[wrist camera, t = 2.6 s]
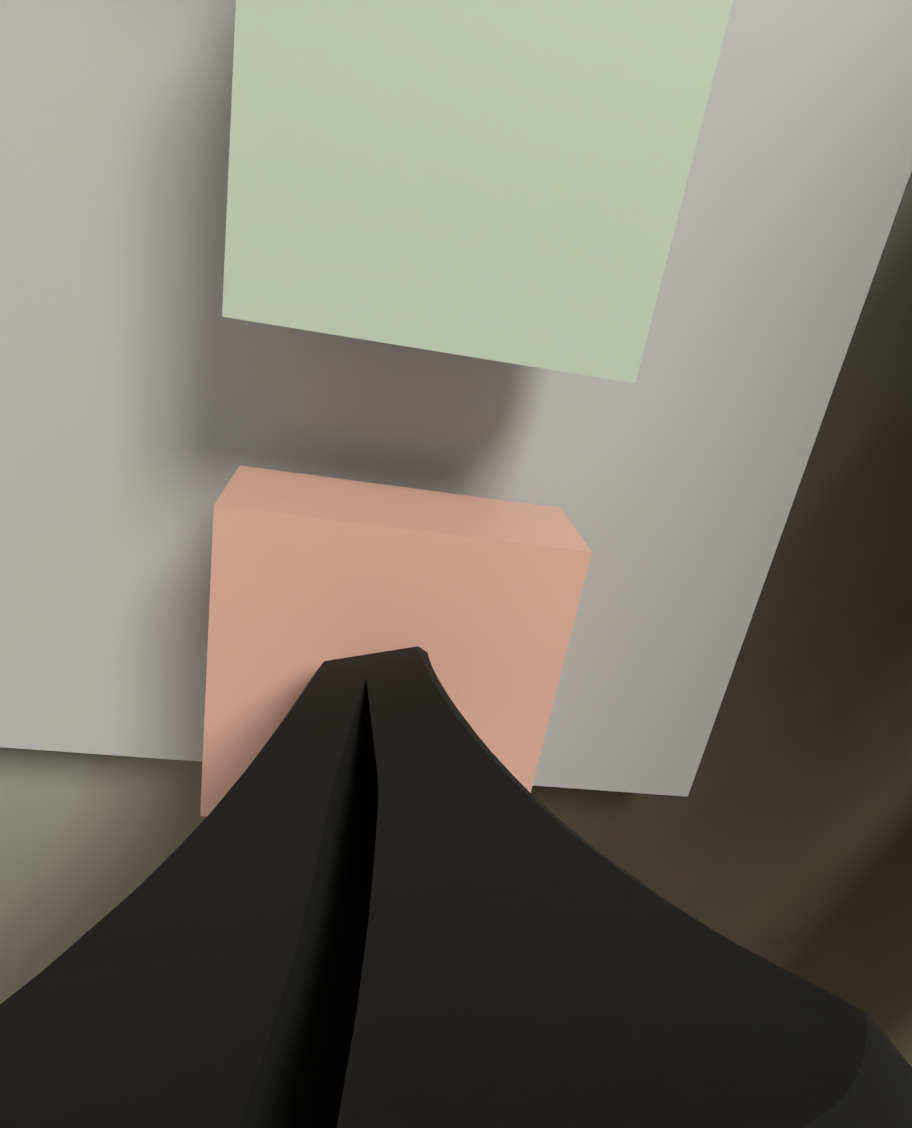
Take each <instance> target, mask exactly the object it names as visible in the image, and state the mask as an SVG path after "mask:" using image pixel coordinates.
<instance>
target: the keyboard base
mask: <svg viewBox="0 0 912 1128" xmlns="http://www.w3.org/2000/svg"><path fill="white" fill-rule="evenodd" d="M235 10H236V0H0V747H5V748H19V749H33V750H46V751H60V752H74V753H88V754H102V755H116V756H130V757H144V758H158V759H172V760H185V761H199V762H203V739H204V717H205V694H206V671H207V648H208V625H209V603H210V580H211V557H212V534H213V511H214V504H215V503H216V501H217V500H218V498H219V497H220V495H221V494H222V492H223V490H224V489H225V487H226V486H227V484H228V483H229V481H230V480H231V478H232V476H233V475H234V473H235V472H236V470H237V469H238V467H239V466H240V465H241V466H249V467H256V468H264V469H271V470H279V471H287V472H294V473H302V474H309V475H317V476H324V477H332V478H340V479H347V480H355V481H362V482H370V483H377V484H385V485H392V486H400V487H408V488H415V489H423V490H430V491H438V492H445V493H453V494H461V495H468V496H476V497H483V498H491V499H498V500H506V501H513V502H521V503H529V504H536V505H544V506H551V507H559V508H562V510H563V511H564V513H565V514H566V516H567V517H568V518H569V520H570V521H571V523H572V524H573V526H574V527H575V528H576V530H577V531H578V533H579V534H580V536H581V537H582V539H583V540H584V541H585V543H586V544H587V546H588V547H589V549H590V550H591V551H592V555H591V559H590V562H589V566H588V570H587V574H586V578H585V582H584V586H583V590H582V594H581V598H580V602H579V606H578V609H577V613H576V617H575V621H574V625H573V629H572V633H571V637H570V641H569V645H568V649H567V652H566V656H565V660H564V664H563V668H562V672H561V676H560V680H559V684H558V688H557V692H556V695H555V699H554V703H553V707H552V711H551V715H550V719H549V723H548V727H547V731H546V735H545V738H544V742H543V746H542V750H541V754H540V758H539V762H538V766H537V770H536V774H535V778H534V782H533V786H547V787H561V788H575V789H589V790H602V791H616V792H630V793H644V794H658V795H672V796H686V797H688V794H689V792H690V789H691V786H692V783H693V780H694V778H695V775H696V772H697V769H698V767H699V764H700V761H701V758H702V755H703V753H704V750H705V747H706V744H707V741H708V739H709V736H710V733H711V730H712V727H713V725H714V722H715V719H716V716H717V713H718V711H719V708H720V705H721V702H722V699H723V697H724V694H725V691H726V688H727V685H728V683H729V680H730V677H731V674H732V671H733V669H734V666H735V663H736V660H737V657H738V655H739V652H740V649H741V646H742V643H743V641H744V638H745V635H746V632H747V629H748V627H749V624H750V621H751V618H752V615H753V613H754V610H755V607H756V604H757V602H758V599H759V596H760V593H761V590H762V588H763V585H764V582H765V579H766V576H767V574H768V571H769V568H770V565H771V562H772V560H773V557H774V554H775V551H776V548H777V546H778V543H779V540H780V537H781V534H782V532H783V529H784V526H785V523H786V520H787V518H788V515H789V512H790V509H791V506H792V504H793V501H794V498H795V495H796V492H797V490H798V487H799V484H800V481H801V478H802V476H803V473H804V470H805V467H806V464H807V462H808V459H809V456H810V453H811V451H812V448H813V445H814V442H815V439H816V437H817V434H818V431H819V428H820V425H821V423H822V420H823V417H824V414H825V411H826V409H827V406H828V403H829V400H830V397H831V395H832V392H833V389H834V386H835V383H836V381H837V378H838V375H839V372H840V369H841V367H842V364H843V361H844V358H845V355H846V353H847V350H848V347H849V344H850V341H851V339H852V336H853V333H854V330H855V327H856V325H857V322H858V319H859V316H860V313H861V311H862V308H863V305H864V302H865V300H866V297H867V294H868V291H869V288H870V286H871V283H872V280H873V277H874V274H875V272H876V269H877V266H878V263H879V260H880V258H881V255H882V252H883V249H884V246H885V244H886V241H887V238H888V235H889V232H890V230H891V227H892V224H893V221H894V218H895V216H896V213H897V210H898V207H899V204H900V202H901V199H902V196H903V193H904V190H905V188H906V185H907V182H908V179H909V176H910V174H911V171H912V0H733V3H732V7H731V11H730V15H729V19H728V23H727V27H726V31H725V35H724V38H723V42H722V46H721V50H720V54H719V58H718V62H717V66H716V70H715V74H714V78H713V81H712V85H711V89H710V93H709V97H708V101H707V105H706V109H705V113H704V117H703V121H702V124H701V128H700V132H699V136H698V140H697V144H696V148H695V152H694V156H693V160H692V164H691V168H690V171H689V175H688V179H687V183H686V187H685V191H684V195H683V199H682V203H681V207H680V211H679V214H678V218H677V222H676V226H675V230H674V234H673V238H672V242H671V246H670V250H669V254H668V257H667V261H666V265H665V269H664V273H663V277H662V281H661V285H660V289H659V293H658V297H657V300H656V304H655V308H654V312H653V316H652V320H651V324H650V328H649V332H648V336H647V340H646V343H645V347H644V351H643V355H642V359H641V363H640V367H639V371H638V375H637V379H636V383H629V382H623V381H617V380H611V379H605V378H598V377H592V376H586V375H580V374H574V373H567V372H561V371H555V370H549V369H543V368H537V367H530V366H524V365H518V364H512V363H506V362H499V361H493V360H487V359H481V358H475V357H468V356H462V355H456V354H450V353H444V352H438V351H431V350H425V349H419V348H413V347H407V346H400V345H394V344H388V343H382V342H376V341H369V340H363V339H357V338H351V337H345V336H339V335H332V334H326V333H320V332H314V331H308V330H301V329H295V328H289V327H283V326H277V325H270V324H264V323H258V322H252V321H246V320H239V319H233V318H227V317H222V306H223V283H224V261H225V238H226V215H227V192H228V169H229V147H230V124H231V101H232V78H233V55H234V33H235Z"/></svg>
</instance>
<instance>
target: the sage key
mask: <svg viewBox="0 0 912 1128" xmlns="http://www.w3.org/2000/svg"><path fill="white" fill-rule="evenodd" d="M732 3H733V0H236V10H235V33H234V55H233V78H232V101H231V124H230V147H229V169H228V192H227V215H226V238H225V261H224V283H223V306H222V317H227V318H233V319H239V320H246V321H252V322H258V323H264V324H270V325H277V326H283V327H289V328H295V329H301V330H308V331H314V332H320V333H326V334H332V335H339V336H345V337H351V338H357V339H363V340H369V341H376V342H382V343H388V344H394V345H400V346H407V347H413V348H419V349H425V350H431V351H438V352H444V353H450V354H456V355H462V356H468V357H475V358H481V359H487V360H493V361H499V362H506V363H512V364H518V365H524V366H530V367H537V368H543V369H549V370H555V371H561V372H567V373H574V374H580V375H586V376H592V377H598V378H605V379H611V380H617V381H623V382H629V383H636V379H637V375H638V371H639V367H640V363H641V359H642V355H643V351H644V347H645V343H646V340H647V336H648V332H649V328H650V324H651V320H652V316H653V312H654V308H655V304H656V300H657V297H658V293H659V289H660V285H661V281H662V277H663V273H664V269H665V265H666V261H667V257H668V254H669V250H670V246H671V242H672V238H673V234H674V230H675V226H676V222H677V218H678V214H679V211H680V207H681V203H682V199H683V195H684V191H685V187H686V183H687V179H688V175H689V171H690V168H691V164H692V160H693V156H694V152H695V148H696V144H697V140H698V136H699V132H700V128H701V124H702V121H703V117H704V113H705V109H706V105H707V101H708V97H709V93H710V89H711V85H712V81H713V78H714V74H715V70H716V66H717V62H718V58H719V54H720V50H721V46H722V42H723V38H724V35H725V31H726V27H727V23H728V19H729V15H730V11H731V7H732Z"/></svg>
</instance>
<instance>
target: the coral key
mask: <svg viewBox="0 0 912 1128" xmlns="http://www.w3.org/2000/svg"><path fill="white" fill-rule="evenodd" d="M591 555H592V551H591V550H590V549H589V547H588V546H587V544H586V543H585V541H584V540H583V539H582V537H581V536H580V534H579V533H578V531H577V530H576V528H575V527H574V526H573V524H572V523H571V521H570V520H569V518H568V517H567V516H566V514H565V513H564V511H563V510H562V508H559V507H551V506H544V505H536V504H529V503H521V502H513V501H506V500H498V499H491V498H483V497H476V496H468V495H461V494H453V493H445V492H438V491H430V490H423V489H415V488H408V487H400V486H392V485H385V484H377V483H370V482H362V481H355V480H347V479H340V478H332V477H324V476H317V475H309V474H302V473H294V472H287V471H279V470H271V469H264V468H256V467H249V466H241V465H240V466H239V467H238V469H237V470H236V472H235V473H234V475H233V476H232V478H231V480H230V481H229V483H228V484H227V486H226V487H225V489H224V490H223V492H222V494H221V495H220V497H219V498H218V500H217V501H216V503H215V504H214V511H213V534H212V557H211V580H210V603H209V625H208V648H207V671H206V694H205V717H204V739H203V762H202V785H201V808H200V816H204V817H207V816H208V815H209V814H210V813H211V812H212V810H213V809H214V808H215V807H216V805H217V804H218V803H219V802H220V801H221V799H222V798H223V797H224V796H225V795H226V793H227V792H228V791H229V790H230V789H231V787H232V786H233V785H234V784H235V783H236V781H237V780H238V779H239V778H240V777H241V775H242V774H243V773H244V772H245V770H246V769H247V768H248V767H249V765H250V764H251V763H252V761H253V760H254V759H255V757H256V756H257V755H258V753H259V752H260V751H261V749H262V748H263V747H264V745H265V744H266V743H267V741H268V740H269V738H270V737H271V736H272V734H273V733H274V732H275V730H276V729H277V728H278V726H279V725H280V724H281V722H282V721H283V719H284V718H285V716H286V715H287V713H288V712H289V711H290V709H291V708H292V706H293V705H294V703H295V702H296V700H297V699H298V697H299V696H300V695H301V693H302V692H303V690H304V689H305V687H306V686H307V684H308V683H309V681H310V680H311V678H312V677H313V675H314V674H315V673H316V671H317V670H318V669H319V667H320V666H321V665H322V663H323V662H324V661H328V660H334V659H340V658H347V657H353V656H359V655H366V654H372V653H378V652H384V651H391V650H397V649H403V648H410V647H416V646H419V647H420V648H422V649H423V650H424V651H426V652H427V653H428V656H429V660H430V662H431V665H432V667H433V670H434V672H435V674H436V675H437V677H438V679H439V681H440V683H441V684H442V686H443V687H444V689H445V691H446V692H447V694H448V696H449V697H450V699H451V700H452V702H453V703H454V704H455V706H456V707H457V709H458V710H459V711H460V713H461V714H462V715H463V717H464V718H465V719H466V721H467V722H468V723H469V725H470V726H471V727H472V729H473V730H474V731H475V732H476V734H477V735H478V736H479V737H480V739H481V740H482V741H483V742H484V743H485V745H486V746H487V747H488V748H489V749H490V751H491V752H492V753H493V754H494V755H495V756H496V757H497V758H498V759H499V760H500V762H501V763H502V764H503V765H504V766H505V767H506V768H507V769H508V770H509V771H510V773H511V774H512V775H513V776H514V777H515V778H516V779H517V780H518V781H519V782H520V783H521V784H522V785H523V786H524V787H525V788H526V789H527V790H528V791H529V792H530V793H531V789H532V785H533V782H534V778H535V774H536V770H537V766H538V762H539V758H540V754H541V750H542V746H543V742H544V738H545V735H546V731H547V727H548V723H549V719H550V715H551V711H552V707H553V703H554V699H555V695H556V692H557V688H558V684H559V680H560V676H561V672H562V668H563V664H564V660H565V656H566V652H567V649H568V645H569V641H570V637H571V633H572V629H573V625H574V621H575V617H576V613H577V609H578V606H579V602H580V598H581V594H582V590H583V586H584V582H585V578H586V574H587V570H588V566H589V562H590V559H591Z"/></svg>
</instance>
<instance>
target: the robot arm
mask: <svg viewBox="0 0 912 1128" xmlns="http://www.w3.org/2000/svg"><path fill="white" fill-rule="evenodd" d="M0 1128H912V1067H911V1066H910V1065H909V1064H908V1062H907V1061H906V1060H905V1059H904V1058H903V1056H902V1055H901V1054H900V1053H899V1051H898V1050H897V1049H896V1048H895V1046H894V1045H893V1044H892V1043H891V1042H890V1040H889V1039H888V1038H887V1037H886V1035H885V1034H884V1033H883V1032H882V1031H881V1029H880V1028H879V1027H878V1026H877V1025H876V1023H875V1022H874V1021H873V1020H872V1019H871V1017H870V1016H869V1015H868V1014H867V1013H865V1012H864V1011H862V1010H860V1009H858V1008H856V1007H855V1006H853V1005H851V1004H849V1003H847V1002H845V1001H843V1000H841V999H839V998H838V997H836V996H834V995H832V994H830V993H828V992H826V991H824V990H822V989H820V988H819V987H817V986H815V985H813V984H811V983H809V982H807V981H805V980H803V979H802V978H800V977H798V976H796V975H794V974H792V973H790V972H788V971H786V970H784V969H783V968H781V967H779V966H777V965H775V964H773V963H771V962H769V961H767V960H766V959H764V958H762V957H760V956H758V955H756V954H754V953H752V952H750V951H748V950H747V949H745V948H743V947H741V946H739V945H737V944H735V943H734V942H732V941H730V940H728V939H727V938H725V937H724V936H722V935H720V934H719V933H717V932H716V931H714V930H712V929H711V928H709V927H707V926H706V925H704V924H703V923H701V922H699V921H698V920H696V919H695V918H693V917H691V916H690V915H688V914H687V913H685V912H683V911H682V910H680V909H679V908H677V907H675V906H674V905H673V904H671V903H670V902H668V901H667V900H666V899H664V898H663V897H661V896H660V895H659V894H657V893H656V892H654V891H653V890H652V889H650V888H649V887H647V886H646V885H644V884H643V883H642V882H640V881H639V880H637V879H636V878H635V877H633V876H632V875H630V874H629V873H628V872H626V871H625V870H623V869H622V868H621V867H619V866H618V865H616V864H615V863H614V862H612V861H611V860H609V859H608V858H607V857H605V856H604V855H602V854H601V853H600V852H598V851H597V850H596V849H595V848H593V847H592V846H591V845H590V844H588V843H587V842H586V841H585V840H584V839H582V838H581V837H580V836H579V835H578V834H576V833H575V832H574V831H573V830H572V829H570V828H569V827H568V826H567V825H565V824H564V823H563V822H562V821H561V820H560V819H559V818H557V817H556V816H555V815H554V814H553V813H552V812H551V811H550V810H549V809H547V808H546V807H545V806H544V805H543V804H542V803H541V802H540V801H539V800H538V799H536V798H535V797H534V796H533V795H532V794H531V793H530V792H529V791H528V790H527V789H526V788H525V787H524V786H523V785H522V784H521V783H520V782H519V781H518V780H517V779H516V778H515V777H514V776H513V775H512V774H511V773H510V771H509V770H508V769H507V768H506V767H505V766H504V765H503V764H502V763H501V762H500V760H499V759H498V758H497V757H496V756H495V755H494V754H493V753H492V752H491V751H490V749H489V748H488V747H487V746H486V745H485V743H484V742H483V741H482V740H481V739H480V737H479V736H478V735H477V734H476V732H475V731H474V730H473V729H472V727H471V726H470V725H469V723H468V722H467V721H466V719H465V718H464V717H463V715H462V714H461V713H460V711H459V710H458V709H457V707H456V706H455V704H454V703H453V702H452V700H451V699H450V697H449V696H448V694H447V692H446V691H445V689H444V687H443V686H442V684H441V683H440V681H439V679H438V677H437V675H436V674H435V672H434V670H433V667H432V665H431V662H430V660H429V656H428V653H427V652H426V651H424V650H423V649H422V648H420V647H419V646H416V647H410V648H403V649H397V650H391V651H384V652H378V653H372V654H366V655H359V656H353V657H347V658H340V659H334V660H328V661H324V662H323V663H322V665H321V666H320V667H319V669H318V670H317V671H316V673H315V674H314V675H313V677H312V678H311V680H310V681H309V683H308V684H307V686H306V687H305V689H304V690H303V692H302V693H301V695H300V696H299V697H298V699H297V700H296V702H295V703H294V705H293V706H292V708H291V709H290V711H289V712H288V713H287V715H286V716H285V718H284V719H283V721H282V722H281V724H280V725H279V726H278V728H277V729H276V730H275V732H274V733H273V734H272V736H271V737H270V738H269V740H268V741H267V743H266V744H265V745H264V747H263V748H262V749H261V751H260V752H259V753H258V755H257V756H256V757H255V759H254V760H253V761H252V763H251V764H250V765H249V767H248V768H247V769H246V770H245V772H244V773H243V774H242V775H241V777H240V778H239V779H238V780H237V781H236V783H235V784H234V785H233V786H232V787H231V789H230V790H229V791H228V792H227V793H226V795H225V796H224V797H223V798H222V799H221V801H220V802H219V803H218V804H217V805H216V807H215V808H214V809H213V810H212V812H211V813H210V814H209V815H208V816H207V817H206V818H205V819H204V821H203V822H202V823H201V824H200V825H199V826H198V827H197V828H196V829H195V830H194V831H193V833H192V834H191V835H190V836H189V837H188V838H187V839H186V840H185V841H184V842H183V843H182V844H181V845H180V846H179V847H178V848H177V849H176V850H175V851H174V852H173V853H172V854H171V855H170V856H169V857H168V858H167V859H166V860H165V861H164V862H163V863H162V864H161V865H160V866H159V867H158V868H157V869H156V870H155V871H154V872H153V873H152V874H151V875H150V876H149V877H148V878H147V879H146V880H145V881H144V882H143V883H142V884H141V885H140V886H139V887H138V888H137V889H136V890H135V891H133V892H132V893H131V894H130V895H129V896H128V897H127V898H126V899H125V900H124V901H122V902H121V903H120V904H119V905H118V906H117V907H116V908H114V909H113V910H112V911H111V912H110V913H109V914H108V915H106V916H105V917H104V918H103V919H102V920H101V921H100V922H98V923H97V924H96V925H95V926H94V927H93V928H92V929H90V930H89V931H88V932H87V933H86V934H85V935H83V936H82V937H81V938H80V939H79V940H78V941H77V942H75V943H74V944H73V945H72V946H71V947H70V948H69V949H67V950H66V951H65V952H64V953H63V954H62V955H61V956H59V957H58V958H57V959H56V960H55V961H54V962H53V963H51V964H50V965H49V966H48V967H47V968H46V969H44V970H43V971H42V972H41V973H39V974H38V975H37V976H36V977H35V978H33V979H32V980H31V981H30V982H28V983H27V984H26V985H25V986H23V987H22V988H21V989H19V990H18V991H17V992H16V993H14V994H13V995H12V996H11V997H9V998H8V999H7V1000H5V1001H4V1002H3V1003H2V1004H0Z"/></svg>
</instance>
